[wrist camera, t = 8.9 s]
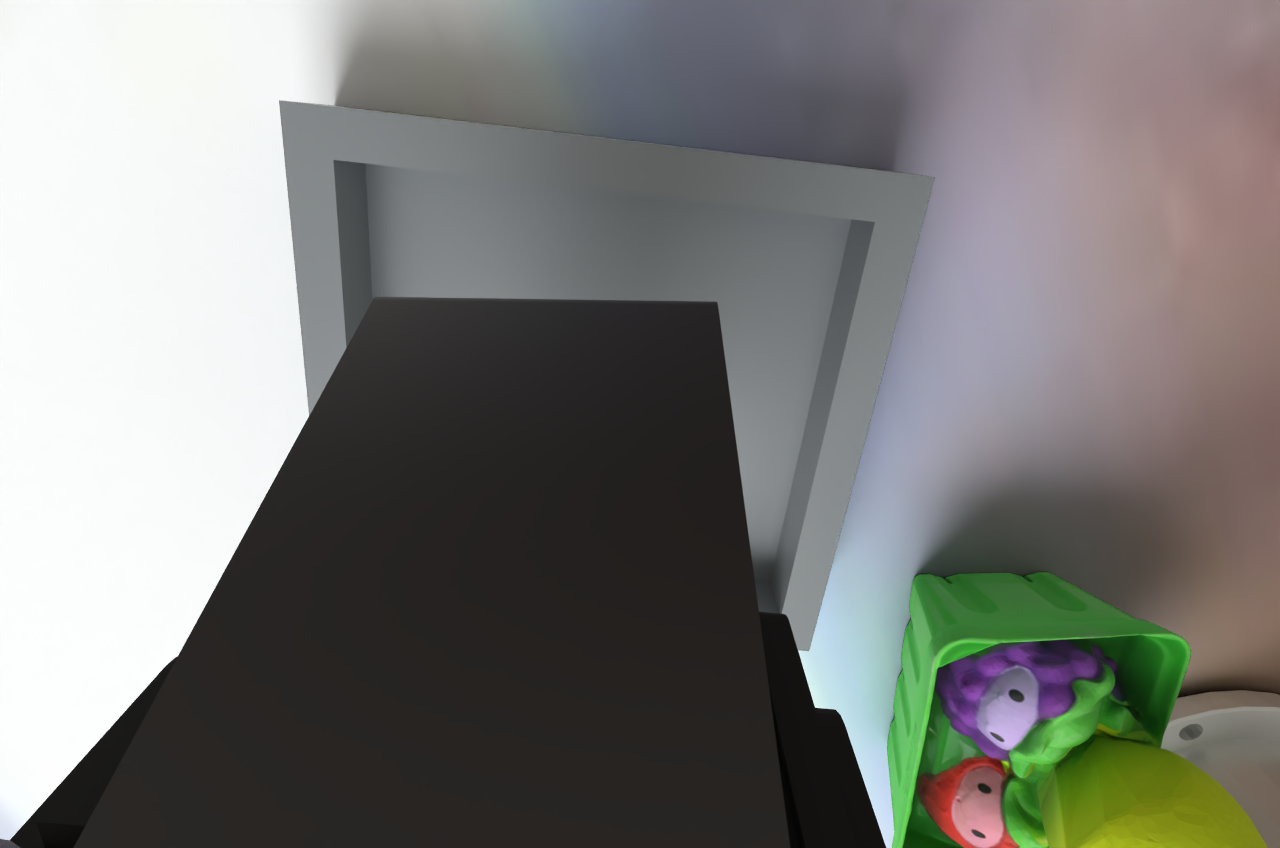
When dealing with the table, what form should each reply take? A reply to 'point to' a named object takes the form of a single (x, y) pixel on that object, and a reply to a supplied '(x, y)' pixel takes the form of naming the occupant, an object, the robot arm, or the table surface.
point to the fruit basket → (1043, 725)
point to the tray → (632, 278)
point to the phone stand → (481, 605)
